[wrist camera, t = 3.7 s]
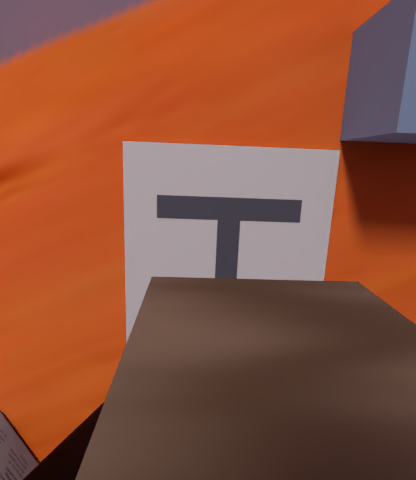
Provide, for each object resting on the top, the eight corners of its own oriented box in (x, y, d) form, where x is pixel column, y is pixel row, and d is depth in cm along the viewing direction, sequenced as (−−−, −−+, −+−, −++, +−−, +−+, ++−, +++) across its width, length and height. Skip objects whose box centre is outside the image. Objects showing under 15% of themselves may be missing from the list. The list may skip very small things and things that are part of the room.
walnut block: (357, 281, 8) (771, 589, 2) (332, 450, 9) (564, 944, 3) (151, 276, 8) (27, 604, 2) (151, 450, 9) (72, 975, 3)
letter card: (339, 150, 17) (340, 150, 17) (312, 357, 20) (313, 359, 20) (123, 141, 17) (122, 140, 16) (127, 355, 19) (126, 356, 19)
